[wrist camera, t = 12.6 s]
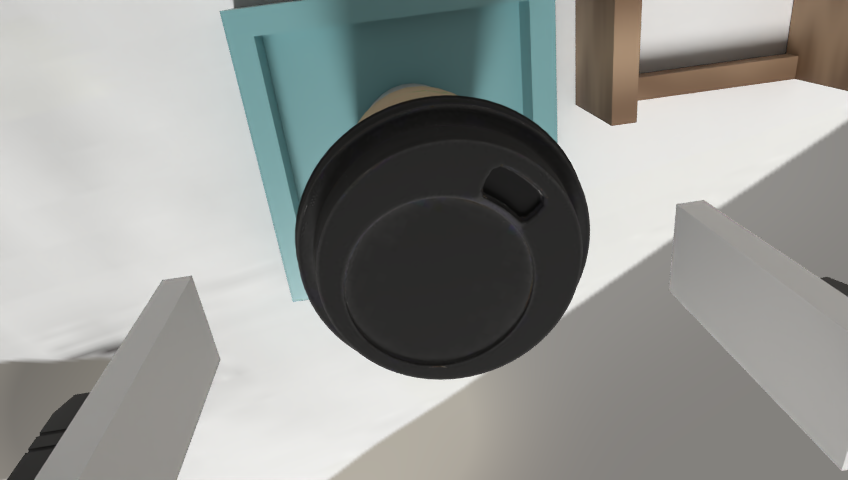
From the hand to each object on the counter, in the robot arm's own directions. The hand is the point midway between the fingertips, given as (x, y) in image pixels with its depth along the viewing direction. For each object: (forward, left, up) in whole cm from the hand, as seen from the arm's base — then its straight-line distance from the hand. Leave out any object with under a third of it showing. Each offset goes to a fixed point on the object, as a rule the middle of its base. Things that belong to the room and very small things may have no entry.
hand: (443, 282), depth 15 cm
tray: (0, 0, -17) cm, 17 cm away
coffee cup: (0, 0, -16) cm, 16 cm away
